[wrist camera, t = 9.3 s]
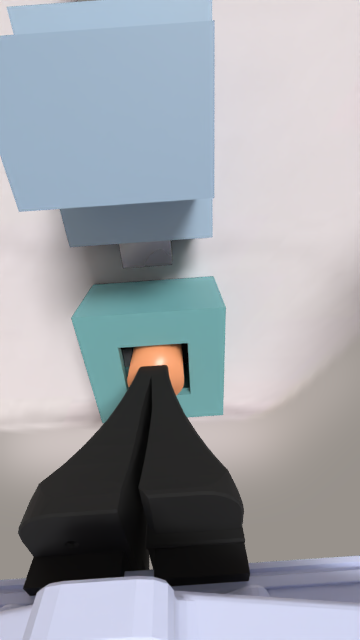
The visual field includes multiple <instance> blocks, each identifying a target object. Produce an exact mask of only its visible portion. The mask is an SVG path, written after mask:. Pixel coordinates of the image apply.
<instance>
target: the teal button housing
mask: <svg viewBox="0 0 360 640" xmlns="http://www.w3.org/2000/svg"><path fill="white" fill-rule="evenodd" d="M225 315H226V307H225V304H224V302H223V299H222V297H221V294H220V292H219V289H218V287H217V284H216V282H215V279H214V277H213V276H210V277H196V278H181V279H167V280H153V281H138V282H124V283H109V284H95V285H93V286H92V287H91V289H90V290H89V292H88V293H87V295H86V296H85V298H84V299H83V301H82V302H81V304H80V305H79V307H78V308H77V310H76V312H75V313H74V315H73V316H72V318H71V319H72V322H73V326H74V329H75V332H76V336H77V339H78V343H79V346H80V349H81V353H82V356H83V359H84V363H85V366H86V369H87V373H88V376H89V379H90V383H91V386H92V389H93V393H94V396H95V399H96V403H97V406H98V409H99V413H100V416H101V419H102V423H105V422H106V420H107V419H108V418H109V417H110V415H111V414H112V413H113V411H114V410H115V408H116V407H117V405H118V404H119V403H120V401H121V400H122V398H123V397H124V395H125V393H126V392H127V390H128V388H129V386H128V383H127V377H128V373H129V368H130V367H125V366H124V361H123V356H122V351H121V348H123V347H137V346H152V345H166V344H181V343H188V360H189V363H183V370H184V385H183V388H182V390H181V391H180V393H179V394H178V395H176V397H177V399H178V401H179V403H180V405H181V407H182V409H183V411H184V413H185V415H186V417H199V416H214V415H223V393H224V354H225Z"/></svg>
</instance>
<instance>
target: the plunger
mask: <svg viewBox="0 0 360 640" xmlns="http://www.w3.org/2000/svg"><path fill="white" fill-rule="evenodd" d="M157 365H167V366H168V370H169V377H170V381H171V384H172V387H173V389H174V392H175V394H176V395H178V394H179V393H180V391H181V390H182V388H183V385H184V370H183V355H182V343H181V344H166V345H152V346H137V347H134V348H133V353H132V358H131V363H130V368H129V373H128V377H127V383H128V386H129V387H130V385H131V383H132V381H133V380H134V378H135V376H136V374H137V372H138V369H139V368H140V367H142V366H157Z"/></svg>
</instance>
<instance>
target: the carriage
mask: <svg viewBox="0 0 360 640" xmlns="http://www.w3.org/2000/svg"><path fill="white" fill-rule="evenodd" d="M7 10H8V14H9V18H10V21H11V25H12V29H13V33H14V35H4V36H0V156H1V159H2V162H3V165H4V168H5V171H6V174H7V177H8V180H9V183H10V186H11V189H12V192H13V195H14V198H15V201H16V204H17V207H18V210H19V212H22V211H36V210H51V209H60V212H61V215H62V219H63V223H64V227H65V231H66V234H67V238H68V242H69V246H70V247H80V246H95V245H109V244H123V243H138V242H152V241H166V240H181V239H195V238H209V237H212V198H214V20H213V21H212V0H96V1H82V2H68V3H54V4H40V5H26V6H12V7H7Z"/></svg>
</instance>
